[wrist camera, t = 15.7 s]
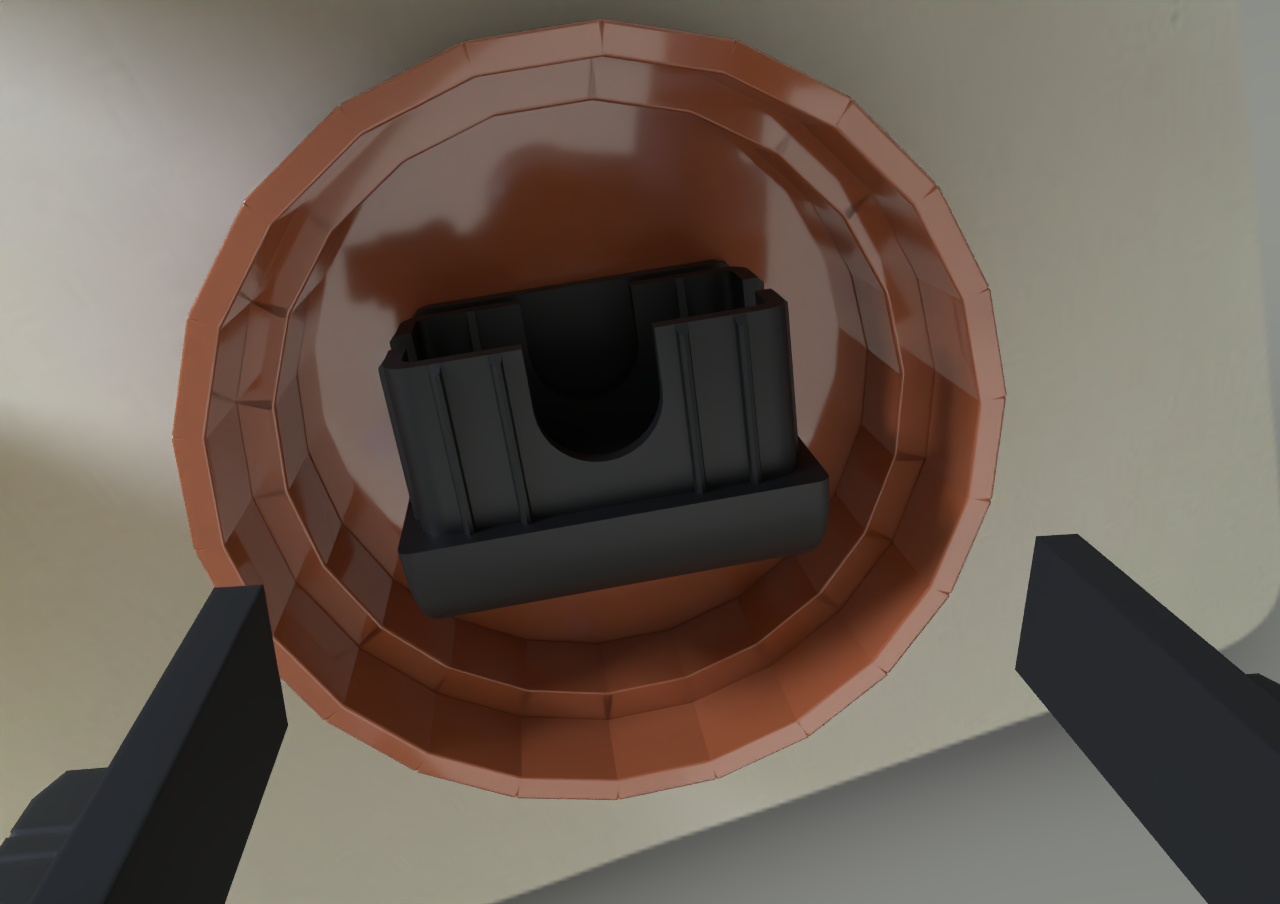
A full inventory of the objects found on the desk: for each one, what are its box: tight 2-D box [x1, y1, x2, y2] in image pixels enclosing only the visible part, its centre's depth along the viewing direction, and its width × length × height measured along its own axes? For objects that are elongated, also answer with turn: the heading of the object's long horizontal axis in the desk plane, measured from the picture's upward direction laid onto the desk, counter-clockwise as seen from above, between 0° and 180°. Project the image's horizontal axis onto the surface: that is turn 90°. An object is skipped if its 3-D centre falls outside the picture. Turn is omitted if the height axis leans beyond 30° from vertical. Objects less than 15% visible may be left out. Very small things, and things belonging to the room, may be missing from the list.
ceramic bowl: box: [172, 19, 1006, 800], centre depth 26 cm, size 19×20×6 cm
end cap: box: [378, 259, 830, 619], centre depth 25 cm, size 10×7×7 cm
